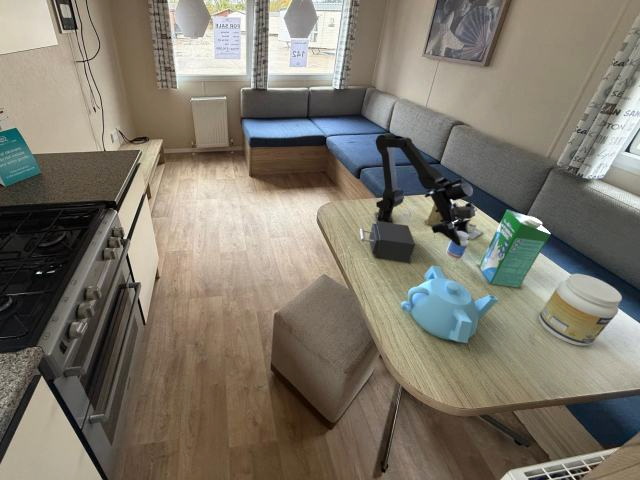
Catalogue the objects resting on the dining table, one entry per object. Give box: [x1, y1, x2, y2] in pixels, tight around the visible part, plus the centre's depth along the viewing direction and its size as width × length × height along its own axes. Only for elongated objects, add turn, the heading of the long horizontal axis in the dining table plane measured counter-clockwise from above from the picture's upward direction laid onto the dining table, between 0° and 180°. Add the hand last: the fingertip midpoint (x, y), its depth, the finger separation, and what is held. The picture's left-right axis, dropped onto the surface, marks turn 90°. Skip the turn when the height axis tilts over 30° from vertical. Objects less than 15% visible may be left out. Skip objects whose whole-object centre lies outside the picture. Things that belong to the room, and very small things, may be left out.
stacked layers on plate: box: [456, 217, 483, 240], centre depth 134 cm, size 10×9×6 cm
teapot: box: [400, 265, 499, 344], centre depth 90 cm, size 19×19×14 cm
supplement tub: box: [538, 273, 623, 347], centre depth 87 cm, size 12×12×17 cm
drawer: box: [359, 223, 379, 256], centre depth 120 cm, size 16×11×7 cm
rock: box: [425, 203, 442, 226], centre depth 137 cm, size 11×9×10 cm
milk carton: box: [479, 209, 551, 288], centre depth 104 cm, size 9×9×25 cm
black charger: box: [374, 220, 416, 264], centre depth 119 cm, size 12×13×9 cm
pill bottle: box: [445, 231, 469, 260], centre depth 116 cm, size 6×5×10 cm
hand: (463, 243), depth 114 cm, fingers closed on pill bottle, 5 cm apart
